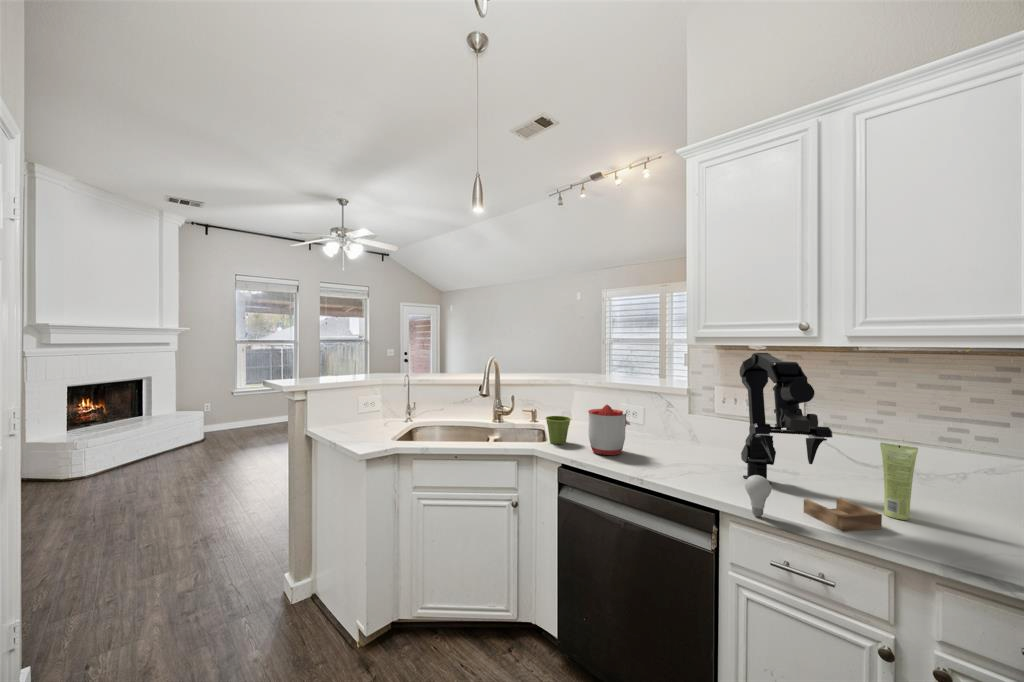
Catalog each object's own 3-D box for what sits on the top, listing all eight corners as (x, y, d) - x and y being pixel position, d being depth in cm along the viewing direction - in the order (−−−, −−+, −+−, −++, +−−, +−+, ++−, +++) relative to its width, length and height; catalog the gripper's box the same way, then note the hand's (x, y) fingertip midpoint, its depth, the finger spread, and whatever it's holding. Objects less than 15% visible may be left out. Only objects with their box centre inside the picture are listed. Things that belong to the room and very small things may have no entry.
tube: (898, 512, 116) (899, 442, 115) (917, 520, 110) (918, 446, 110) (879, 512, 115) (880, 442, 115) (897, 521, 110) (898, 447, 110)
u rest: (803, 512, 115) (803, 499, 115) (840, 510, 117) (840, 497, 117) (841, 531, 104) (841, 516, 104) (881, 528, 105) (881, 514, 105)
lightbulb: (741, 516, 112) (741, 475, 112) (748, 509, 116) (749, 470, 116) (767, 523, 108) (767, 481, 108) (773, 516, 112) (774, 475, 112)
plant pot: (542, 444, 186) (542, 419, 186) (547, 438, 197) (548, 415, 197) (568, 447, 182) (569, 421, 182) (572, 440, 194) (573, 416, 193)
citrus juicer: (634, 457, 167) (635, 407, 167) (590, 457, 167) (591, 407, 167) (624, 447, 182) (625, 401, 182) (584, 447, 183) (585, 401, 183)
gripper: (760, 401, 112) (764, 461, 109) (840, 404, 108) (847, 467, 105) (747, 404, 123) (750, 459, 120) (819, 407, 119) (824, 464, 115)
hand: (791, 462), depth 115 cm, fingers open, 9 cm apart
